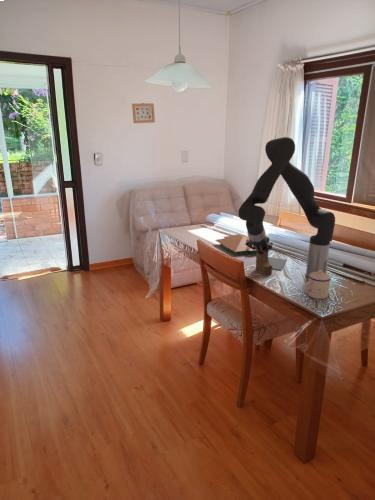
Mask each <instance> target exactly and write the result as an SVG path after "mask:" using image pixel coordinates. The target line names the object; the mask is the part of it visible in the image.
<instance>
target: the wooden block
mask: <svg viewBox="0 0 375 500" xmlns="http://www.w3.org/2000/svg"><path fill="white" fill-rule="evenodd" d="M266 239H267V241H268V243H270V237H269V236H267V235H266ZM269 250H270V249H269ZM269 250H267V251H264V254H262V255H261V254H259V253H258V252H257V251H256V254H255V255H256V256H255V257H256V259H255V270H256V271H258V272H259V273H260V274H262V275H263V276H267V275H272V271H273V269H272V265H270V263H269V261H268V257H269Z"/></svg>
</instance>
